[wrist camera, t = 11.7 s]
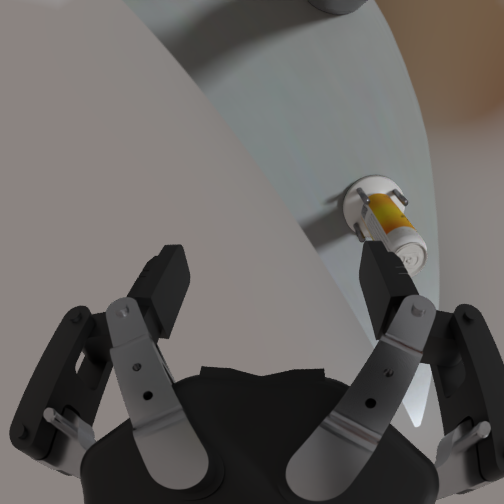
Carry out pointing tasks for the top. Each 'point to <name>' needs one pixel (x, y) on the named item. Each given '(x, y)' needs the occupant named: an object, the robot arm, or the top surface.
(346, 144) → the top surface
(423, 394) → the top surface
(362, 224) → the pin tray
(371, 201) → the beer can
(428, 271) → the top surface
